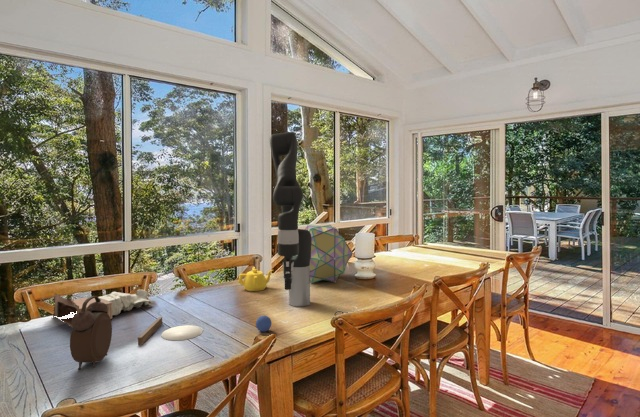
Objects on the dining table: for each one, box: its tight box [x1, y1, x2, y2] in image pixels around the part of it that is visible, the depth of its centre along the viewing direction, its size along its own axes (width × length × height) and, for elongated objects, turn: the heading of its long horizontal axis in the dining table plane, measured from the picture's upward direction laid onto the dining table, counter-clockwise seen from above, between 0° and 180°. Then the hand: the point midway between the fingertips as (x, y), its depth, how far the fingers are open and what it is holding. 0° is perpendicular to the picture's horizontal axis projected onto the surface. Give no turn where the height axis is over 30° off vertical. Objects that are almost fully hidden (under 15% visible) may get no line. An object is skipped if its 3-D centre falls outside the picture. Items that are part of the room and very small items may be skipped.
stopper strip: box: [137, 316, 163, 346], centre depth 142 cm, size 1×20×2 cm, turn 3°
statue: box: [52, 289, 153, 335], centre depth 163 cm, size 24×35×10 cm
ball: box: [255, 315, 272, 332], centre depth 144 cm, size 6×6×6 cm
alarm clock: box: [69, 295, 113, 371], centre depth 118 cm, size 15×7×20 cm, turn 5°
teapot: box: [238, 266, 274, 292], centre depth 202 cm, size 14×13×10 cm
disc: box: [161, 324, 203, 342], centre depth 143 cm, size 14×14×1 cm
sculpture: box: [292, 224, 354, 285], centre depth 219 cm, size 30×30×30 cm
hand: (288, 286), depth 144 cm, fingers open, 8 cm apart
